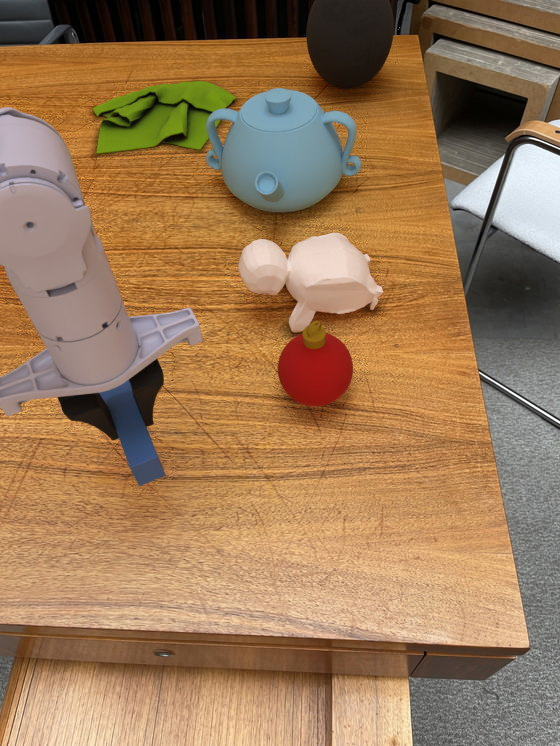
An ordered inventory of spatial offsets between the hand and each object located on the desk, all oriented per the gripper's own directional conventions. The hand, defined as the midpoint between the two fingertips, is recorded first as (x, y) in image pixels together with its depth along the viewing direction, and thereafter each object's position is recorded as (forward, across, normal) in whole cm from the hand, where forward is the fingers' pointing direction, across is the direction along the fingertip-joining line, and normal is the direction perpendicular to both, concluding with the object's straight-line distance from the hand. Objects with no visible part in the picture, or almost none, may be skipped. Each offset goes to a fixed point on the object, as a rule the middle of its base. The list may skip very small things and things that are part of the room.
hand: (130, 423), depth 52 cm
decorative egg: (+9, -48, -50) cm, 70 cm away
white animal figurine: (+9, -22, -12) cm, 27 cm away
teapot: (+9, -27, -30) cm, 42 cm away
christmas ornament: (+9, -17, -1) cm, 19 cm away
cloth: (+9, -19, -56) cm, 60 cm away
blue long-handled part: (+1, 0, 0) cm, 1 cm away
